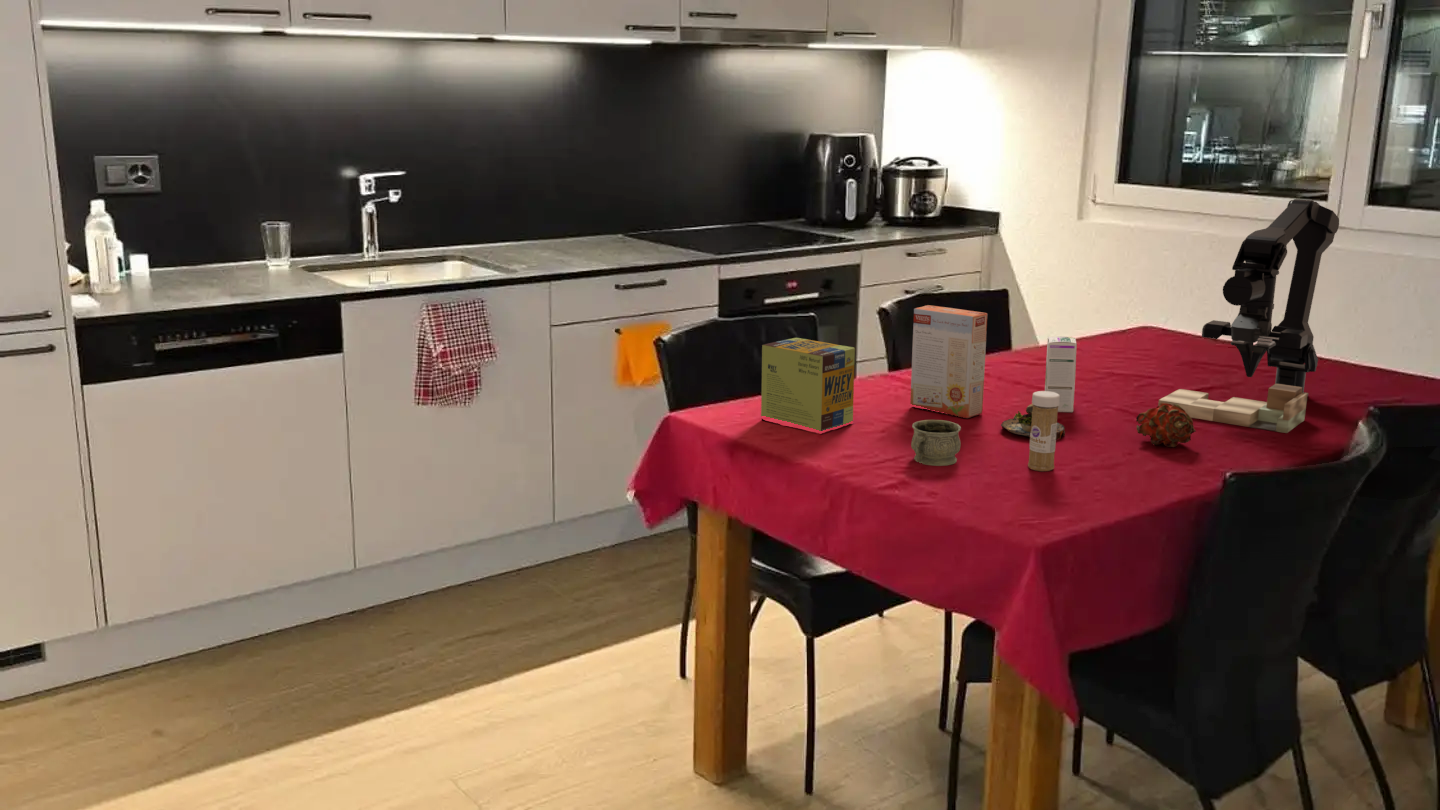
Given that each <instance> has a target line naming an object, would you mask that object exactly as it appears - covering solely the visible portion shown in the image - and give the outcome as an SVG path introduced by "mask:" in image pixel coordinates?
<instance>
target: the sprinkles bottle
mask: <svg viewBox="0 0 1440 810" xmlns="http://www.w3.org/2000/svg"><path fill="white" fill-rule="evenodd" d="M1059 400H1060V396H1059V394H1057V393H1055V392H1050V391H1045V390H1038V391H1034V392H1032V398H1031V404H1033V405H1032V406H1033V411H1032V424H1031V433H1030V437H1029V446H1028V447H1029V454H1028V455H1029V456H1028V463H1027V466H1028V469H1031V470H1033V471H1035V472H1036V471H1037V472H1050V471H1052V470H1054V469H1055V452H1056V445H1057V444H1056V443H1057V440H1056V432H1057V422H1058V413H1059V412H1058V407H1059Z"/></svg>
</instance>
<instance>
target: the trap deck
mask: <svg viewBox="0 0 1440 810" xmlns="http://www.w3.org/2000/svg"><path fill="white" fill-rule="evenodd" d="M1209 393H1210V392H1209ZM1209 393H1208V392H1203V391H1196V390H1192V389H1191V390H1189V389H1184V388H1179V389H1177V390H1175V391H1172V392H1171V393H1169V394H1168V395H1167V394H1166V395H1165V396H1164V397H1161V398H1160V399H1158V403H1157V404H1158V405H1157V406H1160V403H1161V402H1163V403H1169V404H1177V405H1179V406H1180V407H1181V408H1183V409H1184V410H1185V412H1186V413H1187V414H1188V415H1189V416H1190V417H1191V419H1198V420H1199V419H1200V420H1204V421H1210V422H1217V423H1224V424H1229V425H1235V426H1241V427H1247V428H1254V429H1259V430H1265V431H1266V430H1267V431H1271V432H1277V433H1285V434H1288V433H1289V432H1291V431H1292V430H1293V429H1294V428H1296V427H1297V426H1298V425H1300V424H1301V423H1303V422H1304V421H1305V420H1306V419H1305V417H1306V411H1307V410H1306V409H1307V402H1308V396H1307V394H1308V395H1309V392H1305V393H1301V394H1299V395H1298V396H1296V397H1295V398H1293V399H1292V400H1290V401H1289V402H1287V403H1286V404H1285V405H1284V410H1277V409H1271V408H1266V406H1267V401H1262V400H1255V399H1249V398H1242V397H1237V396H1236V397H1235V396H1233V397H1231V398H1230V399H1228V400H1226V401H1219V400H1212V399H1209Z"/></svg>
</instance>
